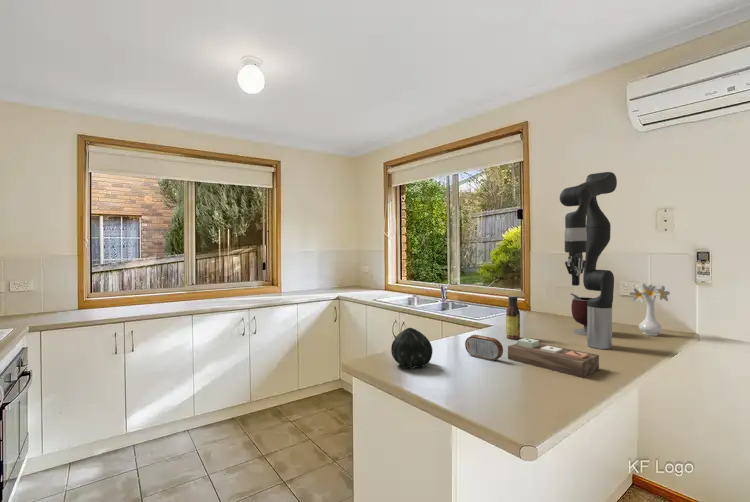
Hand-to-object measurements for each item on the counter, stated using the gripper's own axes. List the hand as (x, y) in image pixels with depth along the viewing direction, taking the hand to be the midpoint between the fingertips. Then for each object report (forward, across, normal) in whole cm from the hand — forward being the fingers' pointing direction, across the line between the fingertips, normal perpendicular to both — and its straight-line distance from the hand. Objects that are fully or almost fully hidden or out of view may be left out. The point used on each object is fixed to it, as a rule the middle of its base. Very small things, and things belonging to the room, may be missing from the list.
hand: (575, 285), depth 144 cm
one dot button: (+26, +12, -3) cm, 29 cm away
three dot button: (+26, +12, +5) cm, 29 cm away
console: (+28, +12, -4) cm, 31 cm away
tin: (+28, +25, -24) cm, 45 cm away
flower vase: (+30, -71, +5) cm, 77 cm away
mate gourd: (+29, -51, -17) cm, 61 cm away
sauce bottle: (+29, -13, -34) cm, 46 cm away
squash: (+28, +53, -35) cm, 70 cm away
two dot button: (+25, +12, -12) cm, 30 cm away
